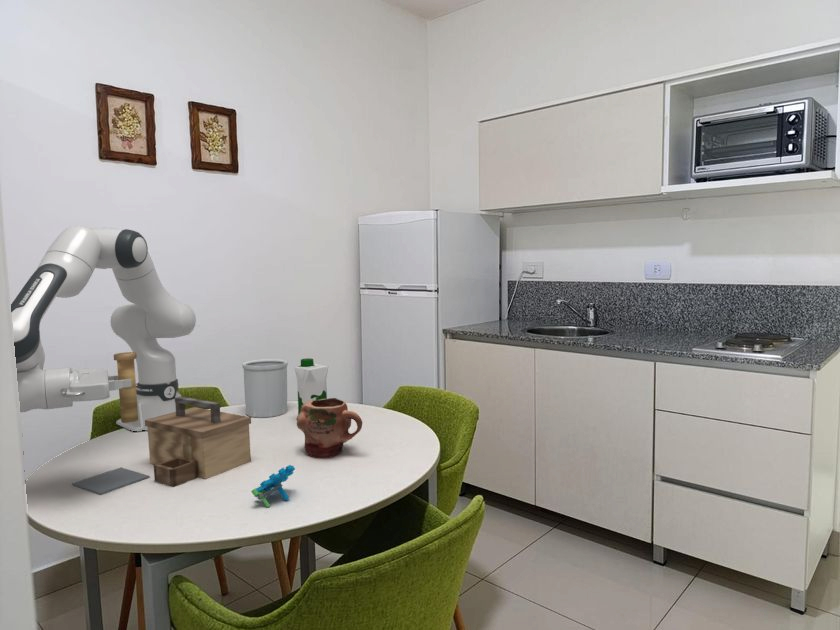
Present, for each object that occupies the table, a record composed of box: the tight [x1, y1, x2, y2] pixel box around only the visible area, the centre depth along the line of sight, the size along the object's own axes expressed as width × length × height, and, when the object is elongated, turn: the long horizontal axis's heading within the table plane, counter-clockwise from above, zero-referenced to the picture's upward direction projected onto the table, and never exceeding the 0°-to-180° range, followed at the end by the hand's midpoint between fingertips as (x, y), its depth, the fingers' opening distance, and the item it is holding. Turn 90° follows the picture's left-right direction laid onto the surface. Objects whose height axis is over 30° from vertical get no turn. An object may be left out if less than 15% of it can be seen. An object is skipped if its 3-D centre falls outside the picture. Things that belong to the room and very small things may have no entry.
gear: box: [251, 464, 296, 508], centre depth 126 cm, size 11×6×10 cm
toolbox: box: [145, 395, 252, 488], centre depth 148 cm, size 23×21×16 cm
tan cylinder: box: [113, 351, 138, 423], centre depth 138 cm, size 5×5×16 cm
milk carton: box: [294, 357, 329, 416], centre depth 187 cm, size 9×9×20 cm
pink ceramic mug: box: [296, 397, 363, 459], centre depth 156 cm, size 20×12×14 cm, turn 72°
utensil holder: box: [242, 358, 288, 419], centre depth 199 cm, size 15×15×18 cm
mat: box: [71, 467, 150, 496], centre depth 140 cm, size 12×12×1 cm
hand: (130, 380), depth 138 cm, fingers closed on tan cylinder, 4 cm apart
